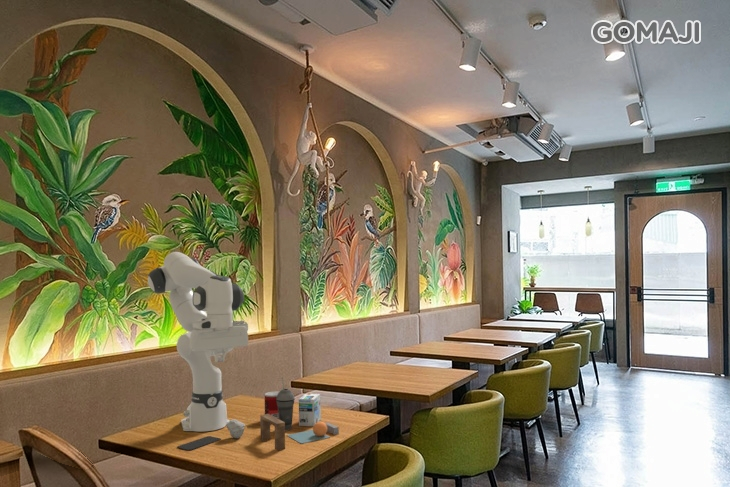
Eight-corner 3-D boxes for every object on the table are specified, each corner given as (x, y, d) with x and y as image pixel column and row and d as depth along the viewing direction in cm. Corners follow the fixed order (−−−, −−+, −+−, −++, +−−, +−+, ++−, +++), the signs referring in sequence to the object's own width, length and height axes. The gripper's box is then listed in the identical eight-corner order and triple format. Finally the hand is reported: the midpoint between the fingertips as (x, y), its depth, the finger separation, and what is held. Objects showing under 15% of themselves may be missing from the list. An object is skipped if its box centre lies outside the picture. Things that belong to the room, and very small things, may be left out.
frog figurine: (225, 437, 200) (225, 418, 200) (243, 434, 203) (243, 416, 203) (227, 441, 194) (227, 422, 195) (246, 439, 197) (246, 420, 197)
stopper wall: (323, 429, 207) (323, 423, 207) (328, 428, 208) (328, 422, 208) (334, 434, 201) (334, 428, 201) (338, 433, 202) (338, 427, 202)
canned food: (287, 418, 224) (287, 392, 224) (274, 423, 217) (274, 396, 218) (273, 416, 228) (273, 390, 228) (260, 420, 221) (260, 394, 222)
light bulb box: (314, 426, 212) (314, 399, 212) (298, 426, 213) (298, 399, 213) (321, 419, 222) (321, 393, 223) (305, 418, 223) (305, 392, 224)
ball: (310, 435, 200) (309, 422, 199) (322, 431, 203) (321, 417, 203) (318, 440, 196) (318, 426, 195) (330, 435, 199) (329, 422, 198)
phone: (222, 438, 197) (189, 450, 184) (222, 441, 197) (189, 452, 184) (208, 435, 201) (175, 446, 188) (208, 437, 201) (175, 449, 188)
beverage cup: (291, 432, 205) (290, 379, 206) (273, 431, 206) (273, 379, 207) (297, 426, 212) (297, 376, 213) (280, 425, 213) (279, 375, 214)
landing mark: (286, 435, 200) (286, 435, 200) (314, 429, 207) (314, 429, 207) (301, 443, 190) (301, 443, 190) (330, 437, 197) (330, 437, 197)
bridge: (277, 450, 184) (277, 423, 184) (260, 440, 196) (260, 415, 196) (285, 448, 186) (284, 422, 186) (268, 438, 197) (267, 413, 198)
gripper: (244, 319, 195) (244, 357, 194) (188, 323, 183) (188, 363, 182) (251, 320, 189) (251, 359, 189) (193, 324, 178) (193, 366, 177)
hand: (219, 361), depth 185 cm, fingers closed
